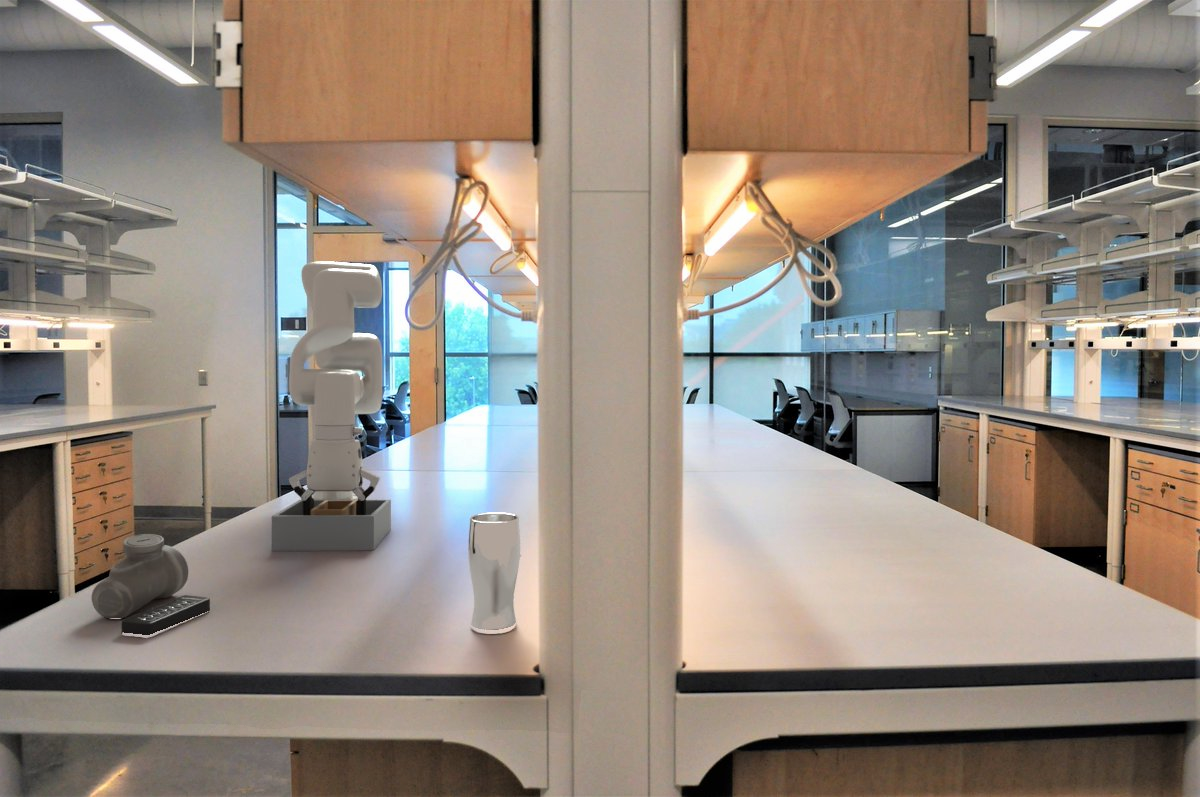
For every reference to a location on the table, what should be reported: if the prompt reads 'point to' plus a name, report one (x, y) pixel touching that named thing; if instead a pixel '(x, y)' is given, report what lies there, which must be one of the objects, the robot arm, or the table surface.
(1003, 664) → the table surface
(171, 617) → the multiport hub
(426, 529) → the table surface
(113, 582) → the pipe fitting
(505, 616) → the beer glass
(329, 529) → the box
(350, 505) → the oak crate
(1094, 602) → the table surface
